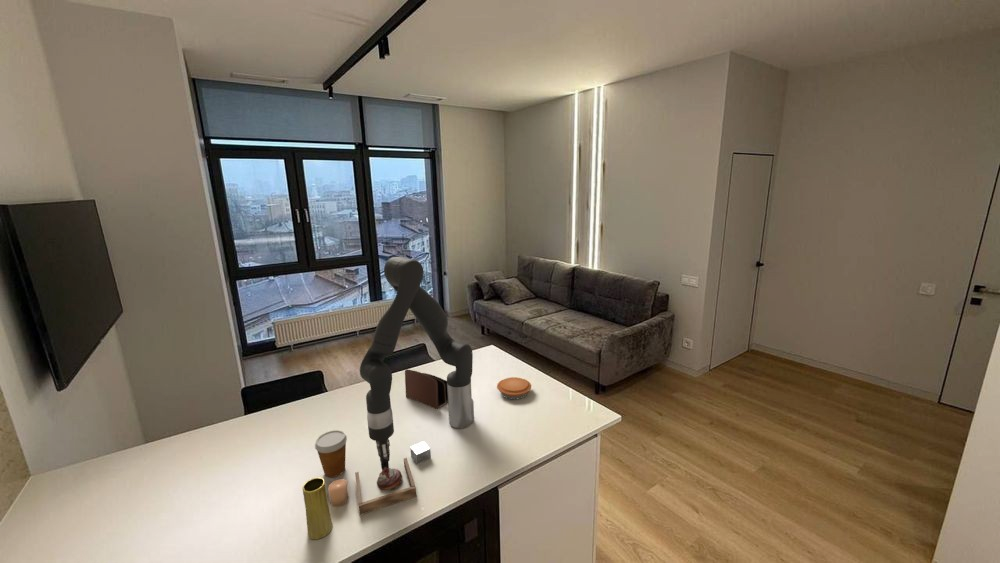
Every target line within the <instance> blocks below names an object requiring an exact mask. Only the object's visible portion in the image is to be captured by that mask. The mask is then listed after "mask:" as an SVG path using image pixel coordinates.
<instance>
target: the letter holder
mask: <svg viewBox="0 0 1000 563" xmlns="http://www.w3.org/2000/svg"><path fill="white" fill-rule="evenodd" d="M404 384H405V385H404V386H405V397H407V398H409V399H412V400H414V401H416V402H418V403H421V404H423V405H426V406H427V407H430V408H433V409H435V410H437V411H438V410H440V409H441V408H443V407H444V406H446V405H448V392H447V379H443V378H441V377H438V376H436V375H433V374H429V373H426V372H420V371H417V370H413V369H405V370H404Z"/></svg>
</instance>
